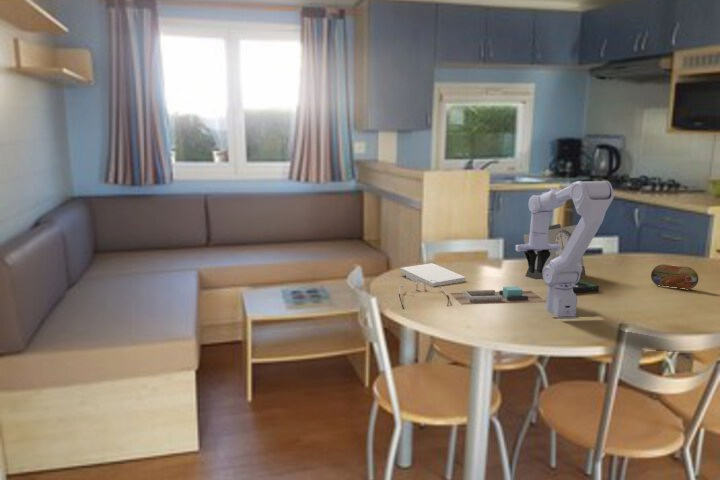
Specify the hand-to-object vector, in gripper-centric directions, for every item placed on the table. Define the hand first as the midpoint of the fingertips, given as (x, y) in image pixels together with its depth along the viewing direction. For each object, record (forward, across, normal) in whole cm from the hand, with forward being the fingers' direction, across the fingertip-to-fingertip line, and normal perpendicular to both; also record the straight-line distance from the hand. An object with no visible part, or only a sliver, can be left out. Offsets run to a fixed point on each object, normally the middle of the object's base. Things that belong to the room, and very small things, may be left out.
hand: (535, 272), depth 187 cm
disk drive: (+10, -20, -10) cm, 24 cm away
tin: (+10, -58, -9) cm, 60 cm away
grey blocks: (+8, +7, 0) cm, 11 cm away
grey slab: (+8, +18, 0) cm, 20 cm away
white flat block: (+10, +28, -26) cm, 39 cm away
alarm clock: (+10, -22, -28) cm, 37 cm away
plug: (+8, +8, 0) cm, 11 cm away
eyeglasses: (+10, +38, -2) cm, 39 cm away
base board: (+9, +12, 0) cm, 16 cm away
